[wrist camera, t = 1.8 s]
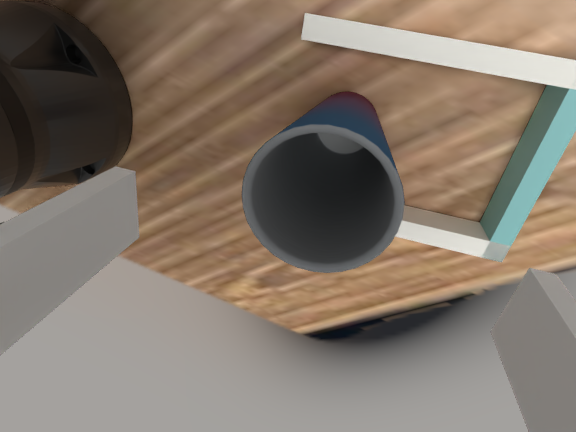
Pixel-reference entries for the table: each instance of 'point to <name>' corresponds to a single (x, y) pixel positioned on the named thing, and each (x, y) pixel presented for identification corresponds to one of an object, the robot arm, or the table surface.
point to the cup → (326, 188)
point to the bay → (528, 154)
